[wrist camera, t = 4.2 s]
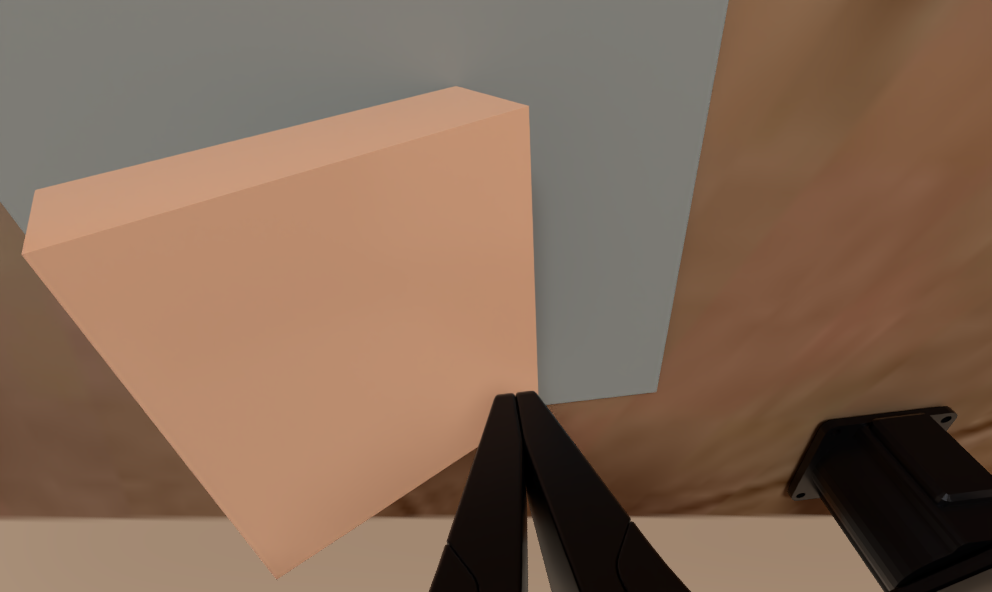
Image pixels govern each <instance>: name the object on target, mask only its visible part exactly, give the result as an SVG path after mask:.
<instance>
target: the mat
mask: <svg viewBox="0 0 992 592" xmlns="http://www.w3.org/2000/svg"><path fill="white" fill-rule="evenodd" d="M728 1H729V0H0V202H1V203H2V204H3V206H4V207H5V208H6V210H7V211H8V212H9V214H10V215H11V216H12V218H13V219H14V220H15V222H16V223H17V224H18V226H19V227H20V228H21V230H22V231H23V232H24V234H25V235H26V231H27V226H28V221H29V216H30V212H31V207H32V202H33V197H34V192H35V190H37V189H41V188H45V187H49V186H53V185H57V184H61V183H66V182H70V181H74V180H78V179H82V178H86V177H90V176H94V175H98V174H102V173H106V172H110V171H114V170H118V169H122V168H126V167H130V166H134V165H138V164H142V163H146V162H150V161H154V160H159V159H163V158H167V157H171V156H175V155H179V154H183V153H187V152H191V151H195V150H199V149H203V148H207V147H211V146H215V145H219V144H223V143H227V142H231V141H235V140H239V139H243V138H248V137H252V136H256V135H260V134H264V133H268V132H272V131H276V130H280V129H284V128H288V127H292V126H296V125H300V124H304V123H308V122H312V121H316V120H320V119H324V118H328V117H332V116H336V115H341V114H345V113H349V112H353V111H357V110H361V109H365V108H369V107H373V106H377V105H381V104H385V103H389V102H393V101H397V100H401V99H405V98H409V97H413V96H417V95H421V94H425V93H430V92H434V91H438V90H442V89H446V88H450V87H454V86H458V87H462V88H465V89H469V90H473V91H476V92H480V93H484V94H487V95H491V96H495V97H498V98H502V99H505V100H509V101H513V102H516V103H520V104H524V105H527V106H529V124H530V155H531V186H532V216H533V247H534V277H535V308H536V339H537V369H538V396H539V397H540V398H541V400H542V401H543V402H544V404H545V405H549V404H557V403H566V402H575V401H583V400H592V399H600V398H609V397H617V396H626V395H634V394H643V393H652V392H656V391H657V386H658V381H659V375H660V370H661V364H662V359H663V354H664V348H665V343H666V337H667V332H668V326H669V321H670V316H671V310H672V305H673V299H674V294H675V288H676V283H677V278H678V272H679V267H680V261H681V256H682V251H683V245H684V240H685V234H686V229H687V223H688V218H689V213H690V207H691V202H692V196H693V191H694V185H695V180H696V175H697V169H698V164H699V158H700V153H701V148H702V142H703V137H704V131H705V126H706V120H707V115H708V110H709V104H710V99H711V93H712V88H713V82H714V77H715V72H716V66H717V61H718V55H719V50H720V45H721V39H722V34H723V28H724V23H725V17H726V12H727V7H728Z"/></svg>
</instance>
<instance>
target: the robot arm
mask: <svg viewBox="0 0 992 592" xmlns="http://www.w3.org/2000/svg"><path fill="white" fill-rule="evenodd" d="M956 418H957V414H956V413H955V412H954V411H953V410H952V409H951V408H950V407H948V406H943V407H935V408H927V409H918V410H910V411H901V412H893V413H885V414H876V415H868V416H860V417H851V418H843V419H834V420H830V421H827V422H825V423H824V424H823V425H822V426H821V427H820V429H819V431H818V433H817V434H816V436H815V438H814V440H813V442H812V444H811V446H810V448H809V450H808V452H807V454H806V456H805V458H804V460H803V461H802V463H801V465H800V467H799V469H798V471H797V473H796V475H795V477H794V479H793V481H792V483H791V485H790V486H789V488H788V491H787V492H788V494H789V495H790V497H791V498H792V500H795V501H798V500H806V499H814V498H821V500H822V501H823V502H824V504H825V505H826V507H827V508H828V510H829V511H830V513H831V514H832V516H833V517H834V519H835V520H836V521H837V523H838V525H839V526H840V527H841V529H842V530H843V532H844V533H845V534H846V536H847V538H848V539H849V541H850V542H851V544H852V545H853V547H854V548H855V550H856V551H857V552H858V554H859V555H860V557H861V558H862V560H863V561H864V563H865V564H866V566H867V567H868V569H869V570H870V572H871V573H872V574H873V576H874V577H875V579H876V580H877V582H878V583H879V585H880V586H881V588H882V589H883V591H884V592H992V475H991V474H990V473H989V472H988V471H987V470H986V469H985V468H984V467H983V466H982V465H981V464H980V463H978V462H977V461H976V460H975V459H974V458H973V457H972V456H971V455H970V454H969V453H968V452H967V451H966V450H965V449H964V448H963V447H962V446H961V445H960V444H959V443H958V442H957V441H956V440H955V439H954V438H953V437H952V436H951V435H950V434H948V433H947V432H946V431H947V430H948V428H949V427H950V426H951V424H952V423H953V422H954V421H955V419H956ZM526 491H527V497H528V501H529V506H530V510H531V514H532V518H533V521H534V525H535V529H536V533H537V537H538V541H539V544H540V549H541V552H542V556H543V560H544V564H545V568H546V572H547V575H548V579H549V583H550V587H551V591H552V592H691V591H690V590H689V589H688V588H687V587H686V586H685V585H684V584H683V582H682V581H681V580H680V579H679V578H678V577H677V576H676V575H675V573H674V572H673V571H672V570H671V569H670V568H669V567H668V566H667V564H666V563H665V562H664V561H663V559H662V558H661V557H660V556H659V554H658V553H657V552H656V551H655V549H654V548H653V547H652V546H651V544H650V543H649V542H648V540H647V539H646V538H645V537H644V535H643V534H642V533H641V532H640V530H639V529H638V527H637V526H636V525H635V523H634V522H632V521H631V522H630V520H631V519H630V517H629V516H628V514H627V513H626V512H625V510H624V509H623V508H622V506H621V505H620V504H619V502H618V501H617V500H616V498H615V497H614V496H613V494H612V493H611V492H610V490H609V489H608V488H607V486H606V485H605V484H604V482H603V481H602V480H601V478H600V477H599V476H598V474H597V473H596V472H595V470H594V469H593V468H592V466H591V465H590V464H589V462H588V461H587V460H586V458H585V457H584V456H583V454H582V453H581V452H580V450H579V449H578V448H577V446H576V445H575V444H574V442H573V441H572V440H571V438H570V437H569V436H568V434H567V433H566V432H565V430H564V429H563V428H562V426H561V425H560V424H559V422H558V421H557V420H556V418H555V417H554V416H553V414H552V413H551V412H550V410H549V409H548V408H547V406H546V405H545V404H544V402H543V401H542V400H541V398H540V397H539V396H538V394H537V393H536V392H535V391H523V392H517V393H516V395H514V394H513V393H506V394H498V395H496V396H495V398H494V400H493V403H492V406H491V409H490V412H489V415H488V418H487V421H486V424H485V427H484V430H483V433H482V436H481V439H480V442H479V445H478V448H477V451H476V454H475V457H474V460H473V463H472V467H471V470H470V473H469V476H468V479H467V482H466V485H465V488H464V491H463V494H462V497H461V500H460V503H459V506H458V509H457V512H456V515H455V518H454V521H453V524H452V527H451V530H450V533H449V536H448V539H447V545H445V547H444V551H443V553H442V556H441V559H440V562H439V565H438V568H437V571H436V574H435V576H434V579H433V581H432V584H431V587H430V590H429V592H528V557H527V556H528V549H527V498H526Z"/></svg>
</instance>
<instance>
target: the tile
mask: <svg viewBox="0 0 992 592" xmlns="http://www.w3.org/2000/svg"><path fill="white" fill-rule="evenodd" d="M22 256H23V257H24V258H25V259H26V261H27V262H28V263H29V265H30V266H31V267H32V268H33V270H34V271H35V272H36V273H37V275H38V276H39V277H40V279H41V280H42V281H43V282H44V284H45V285H46V286H47V288H48V289H49V290H50V291H51V293H52V294H53V295H54V296H55V298H56V299H57V300H58V302H59V303H60V304H61V305H62V307H63V308H64V309H65V310H66V312H67V313H68V314H69V316H70V317H71V318H72V319H73V321H74V322H75V323H76V324H77V326H78V327H79V328H80V330H81V331H82V332H83V333H84V335H85V336H86V337H87V339H88V340H89V341H90V342H91V344H92V345H93V346H94V347H95V349H96V350H97V351H98V353H99V354H100V355H101V356H102V358H103V359H104V360H105V361H106V363H107V364H108V365H109V367H110V368H111V369H112V370H113V372H114V373H115V374H116V376H117V377H118V378H119V379H120V381H121V382H122V383H123V384H124V386H125V387H126V388H127V390H128V391H129V392H130V393H131V395H132V396H133V397H134V398H135V400H136V401H137V402H138V404H139V405H140V406H141V407H142V409H143V410H144V411H145V412H146V414H147V415H148V416H149V418H150V419H151V420H152V421H153V423H154V424H155V425H156V427H157V428H158V429H159V430H160V432H161V433H162V434H163V435H164V437H165V438H166V439H167V441H168V442H169V443H170V444H171V446H172V447H173V448H174V449H175V451H176V452H177V453H178V455H179V456H180V457H181V458H182V460H183V461H184V462H185V464H186V465H187V466H188V467H189V469H190V470H191V471H192V472H193V474H194V475H195V476H196V478H197V479H198V480H199V481H200V483H201V484H202V485H203V486H204V488H205V489H206V490H207V492H208V493H209V494H210V495H211V497H212V498H213V499H214V500H215V502H216V503H217V504H218V506H219V507H220V508H221V509H222V511H223V512H224V513H225V515H226V516H227V517H228V518H229V519H230V521H231V522H232V523H233V525H234V526H235V527H236V528H237V530H238V531H239V532H240V534H241V535H242V536H243V537H244V539H245V540H246V541H247V542H248V544H249V545H250V546H251V548H252V549H253V550H254V552H255V553H256V554H257V555H258V557H259V558H260V559H261V560H262V562H263V563H264V564H265V565H266V567H267V568H268V569H269V571H270V572H271V573H272V574H273V576H274V577H275V578H276V579H278V578H280V577H281V576H283V575H285V574H286V573H288V572H289V571H291V570H292V569H294V568H295V567H296V566H298V565H299V564H301V563H303V562H304V561H306V560H307V559H309V558H310V557H312V556H313V555H315V554H316V553H318V552H319V551H321V550H322V549H324V548H325V547H327V546H328V545H330V544H331V543H333V542H334V541H336V540H337V539H339V538H340V537H342V536H344V535H345V534H346V533H348V532H350V531H351V530H353V529H354V528H356V527H357V526H359V525H360V524H362V523H363V522H365V521H366V520H368V519H369V518H371V517H372V516H374V515H375V514H377V513H378V512H380V511H381V510H383V509H384V508H386V507H387V506H389V505H390V504H392V503H393V502H395V501H397V500H398V499H400V498H401V497H403V496H404V495H406V494H407V493H409V492H410V491H412V490H413V489H415V488H416V487H418V486H419V485H421V484H422V483H424V482H425V481H427V480H428V479H430V478H431V477H433V476H434V475H436V474H437V473H439V472H440V471H442V470H443V469H445V468H446V467H448V466H449V465H451V464H452V463H454V462H456V461H457V460H459V459H460V458H462V457H463V456H465V455H466V454H468V453H469V452H471V451H472V450H474V449H475V448H477V447H478V445H479V442H480V439H481V436H482V433H483V430H484V427H485V424H486V421H487V418H488V415H489V412H490V409H491V406H492V403H493V400H494V398H495V396H496V395H498V394H506V393H513V394H514V395H516V393H517V392H523V391H535V392H536V393H537V394H538V369H537V339H536V308H535V277H534V247H533V216H532V186H531V155H530V124H529V106H527V105H524V104H520V103H516V102H513V101H509V100H505V99H502V98H498V97H495V96H491V95H487V94H484V93H480V92H476V91H473V90H469V89H465V88H462V87H458V86H454V87H450V88H446V89H442V90H438V91H434V92H430V93H425V94H421V95H417V96H413V97H409V98H405V99H401V100H397V101H393V102H389V103H385V104H381V105H377V106H373V107H369V108H365V109H361V110H357V111H353V112H349V113H345V114H341V115H336V116H332V117H328V118H324V119H320V120H316V121H312V122H308V123H304V124H300V125H296V126H292V127H288V128H284V129H280V130H276V131H272V132H268V133H264V134H260V135H256V136H252V137H248V138H243V139H239V140H235V141H231V142H227V143H223V144H219V145H215V146H211V147H207V148H203V149H199V150H195V151H191V152H187V153H183V154H179V155H175V156H171V157H167V158H163V159H159V160H154V161H150V162H146V163H142V164H138V165H134V166H130V167H126V168H122V169H118V170H114V171H110V172H106V173H102V174H98V175H94V176H90V177H86V178H82V179H78V180H74V181H70V182H66V183H61V184H57V185H53V186H49V187H45V188H41V189H37V190H35V192H34V197H33V202H32V207H31V212H30V216H29V221H28V226H27V231H26V236H25V240H24V245H23V250H22Z"/></svg>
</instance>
